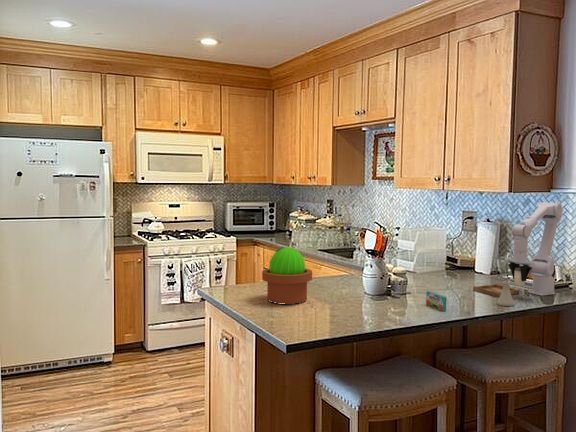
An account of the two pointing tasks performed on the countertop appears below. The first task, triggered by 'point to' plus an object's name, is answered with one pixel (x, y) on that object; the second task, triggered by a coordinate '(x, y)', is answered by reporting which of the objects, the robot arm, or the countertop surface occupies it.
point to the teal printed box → (436, 300)
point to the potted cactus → (287, 277)
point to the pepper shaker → (518, 277)
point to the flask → (505, 296)
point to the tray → (493, 290)
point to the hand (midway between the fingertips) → (519, 280)
